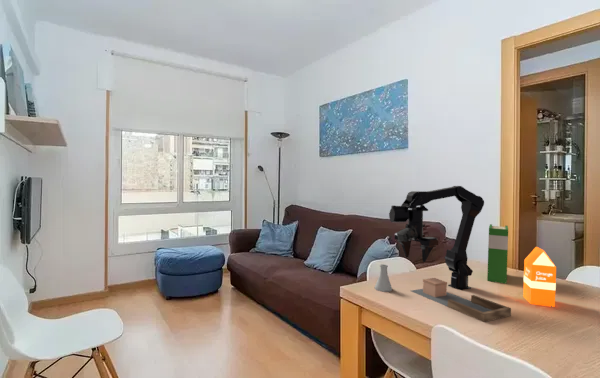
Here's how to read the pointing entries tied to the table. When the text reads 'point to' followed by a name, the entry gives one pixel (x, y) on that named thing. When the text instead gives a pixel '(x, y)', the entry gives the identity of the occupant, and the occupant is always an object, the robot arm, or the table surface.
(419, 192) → the robot arm
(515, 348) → the table surface
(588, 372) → the table surface
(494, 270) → the hardback book
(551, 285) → the orange juice
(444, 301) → the runner mat
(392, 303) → the table surface
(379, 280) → the flask
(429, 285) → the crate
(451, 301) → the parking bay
